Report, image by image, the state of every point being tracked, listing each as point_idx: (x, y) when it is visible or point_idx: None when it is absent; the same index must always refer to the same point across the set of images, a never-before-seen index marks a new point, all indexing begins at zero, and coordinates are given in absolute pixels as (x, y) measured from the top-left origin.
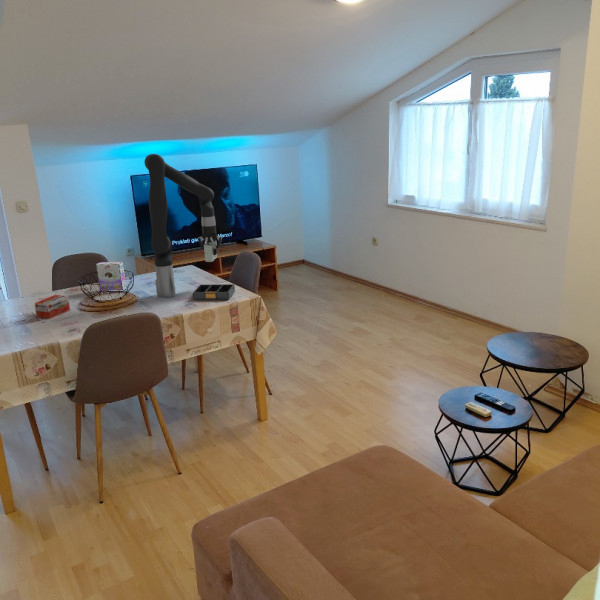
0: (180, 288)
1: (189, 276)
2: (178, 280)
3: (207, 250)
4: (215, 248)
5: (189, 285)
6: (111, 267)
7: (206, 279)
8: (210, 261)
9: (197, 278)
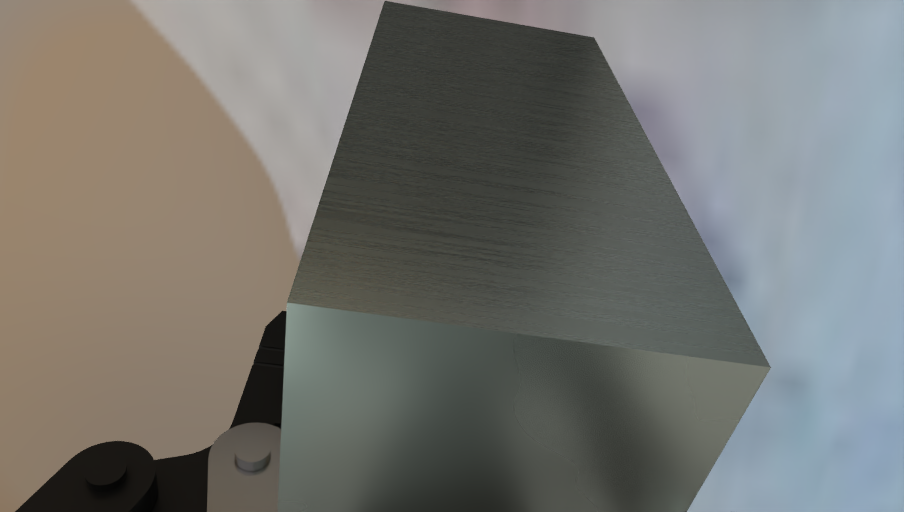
0: (866, 111)
1: None
2: (824, 389)
3: (535, 179)
4: (241, 429)
5: (741, 210)
6: None
7: None
8: (443, 14)
9: None
